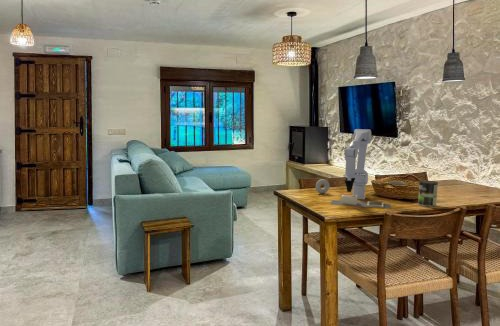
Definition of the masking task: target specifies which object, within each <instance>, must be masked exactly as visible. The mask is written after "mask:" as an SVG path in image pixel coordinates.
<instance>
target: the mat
mask: <svg viewBox="0 0 500 326" xmlns="http://www.w3.org/2000/svg"><path fill="white" fill-rule="evenodd" d="M367 202H368V201H366V202H365V201H357V205H353V204H341V199H340V200H338V199H332V200H331V202H330V205H335V206H345V207H346V206H348V207H349V206H352V207H359V208H360V207H362V208H368V207H367ZM369 205H376V206H382V204H378V203H369ZM391 207H392V205H391V203H383V208H382V209H387V210H390V209H391ZM373 208H375V207H373ZM375 209H376V208H375Z"/></svg>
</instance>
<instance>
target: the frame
mask: <svg viewBox="0 0 500 326" xmlns="http://www.w3.org/2000/svg"><path fill="white" fill-rule="evenodd" d="M366 202H367V207H366V208H374V207H375V209H376V208H377V209H384V208H383V204H384V201H378V200H377V201H376V200H375V201H374V200H368V201H366ZM369 203H378V204H382V206H376V205H369Z"/></svg>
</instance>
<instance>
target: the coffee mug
mask: <svg viewBox="0 0 500 326" xmlns="http://www.w3.org/2000/svg"><path fill="white" fill-rule="evenodd" d="M388 183H390V184H395V185H405V186H406V183H405V182H402V181H396V180H395V181H393V180H391V181H388Z"/></svg>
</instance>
